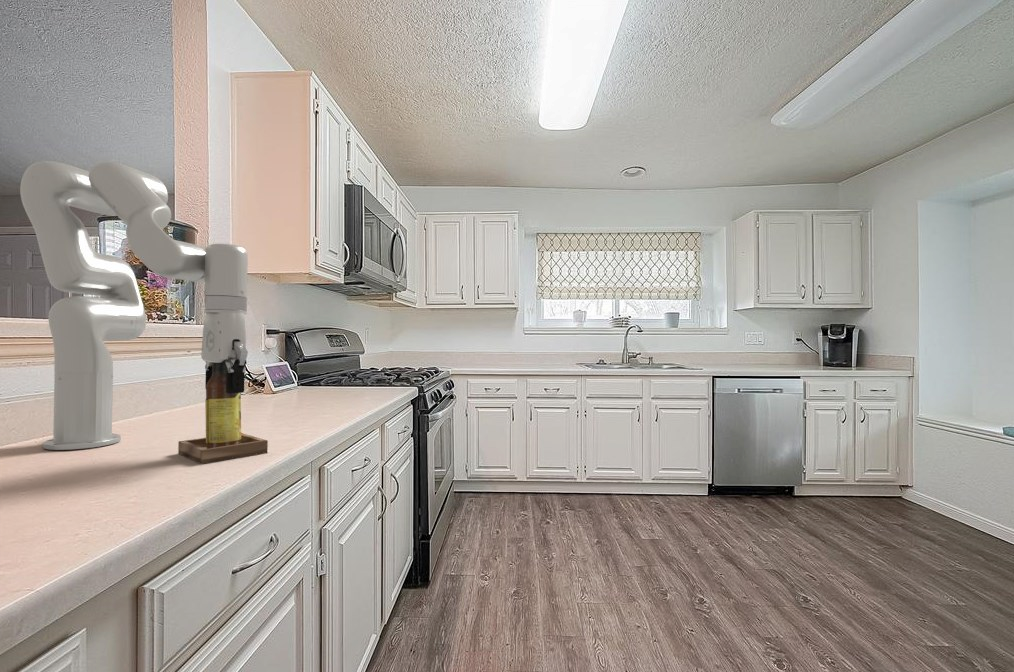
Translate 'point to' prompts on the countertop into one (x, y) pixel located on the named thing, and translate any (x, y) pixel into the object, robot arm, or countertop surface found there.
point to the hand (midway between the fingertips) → (224, 390)
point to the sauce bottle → (221, 410)
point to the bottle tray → (222, 449)
